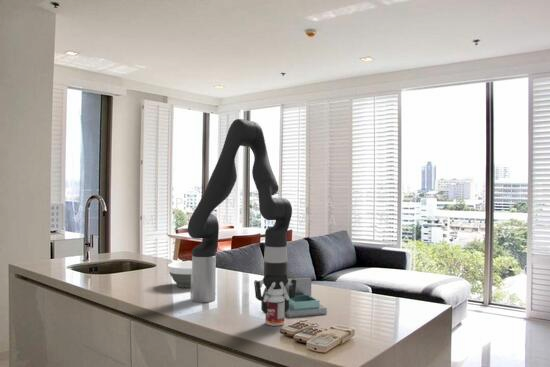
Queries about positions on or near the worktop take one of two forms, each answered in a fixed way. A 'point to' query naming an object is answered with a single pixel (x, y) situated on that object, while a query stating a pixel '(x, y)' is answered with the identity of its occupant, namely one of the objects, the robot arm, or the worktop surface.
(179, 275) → the bowl
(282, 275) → the robot arm
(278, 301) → the pill bottle
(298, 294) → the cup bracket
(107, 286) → the worktop surface
